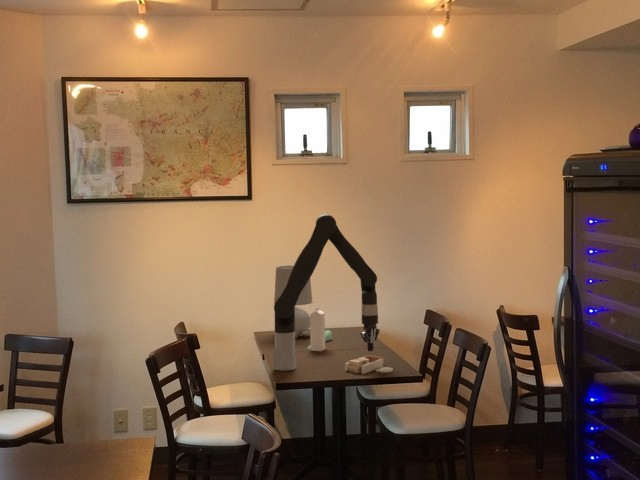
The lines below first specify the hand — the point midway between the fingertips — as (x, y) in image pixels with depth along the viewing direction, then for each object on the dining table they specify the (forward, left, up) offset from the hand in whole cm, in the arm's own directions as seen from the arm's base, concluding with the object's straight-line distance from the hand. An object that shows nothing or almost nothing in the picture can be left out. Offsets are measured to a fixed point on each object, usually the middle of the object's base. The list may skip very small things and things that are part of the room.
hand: (370, 350), depth 323 cm
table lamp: (+36, +76, -8) cm, 85 cm away
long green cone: (+26, +50, -8) cm, 57 cm away
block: (-9, 0, -8) cm, 12 cm away
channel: (-5, 0, -7) cm, 9 cm away
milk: (+15, +42, -8) cm, 45 cm away
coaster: (-3, -9, -7) cm, 12 cm away
